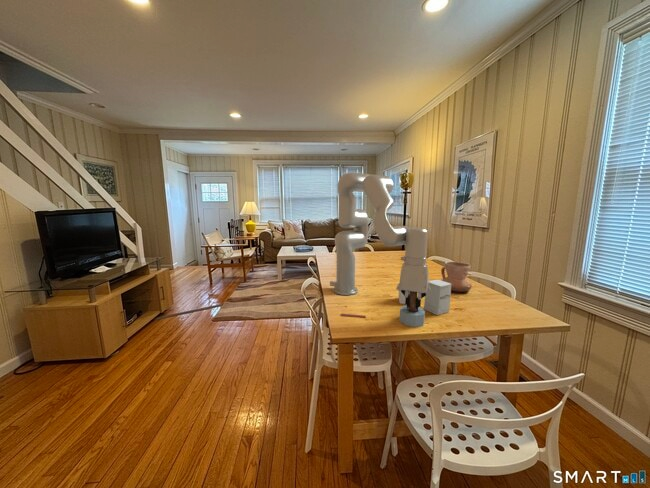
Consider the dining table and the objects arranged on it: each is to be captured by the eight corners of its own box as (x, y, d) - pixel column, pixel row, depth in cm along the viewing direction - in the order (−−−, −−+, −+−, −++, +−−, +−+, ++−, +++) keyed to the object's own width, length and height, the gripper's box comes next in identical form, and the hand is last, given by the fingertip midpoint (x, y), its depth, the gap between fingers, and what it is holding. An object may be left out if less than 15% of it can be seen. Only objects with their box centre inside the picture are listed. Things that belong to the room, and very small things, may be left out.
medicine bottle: (416, 305, 115) (417, 279, 113) (399, 303, 116) (400, 278, 114) (413, 299, 121) (415, 275, 120) (398, 298, 123) (399, 274, 121)
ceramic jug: (480, 293, 129) (482, 265, 127) (458, 296, 124) (460, 268, 122) (451, 283, 146) (453, 259, 144) (431, 286, 141) (433, 261, 139)
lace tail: (341, 315, 104) (341, 314, 104) (341, 314, 105) (341, 313, 105) (365, 317, 102) (365, 316, 102) (365, 316, 103) (365, 315, 103)
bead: (398, 323, 97) (398, 312, 96) (402, 314, 105) (402, 304, 104) (422, 328, 93) (423, 316, 92) (424, 318, 101) (425, 308, 100)
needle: (407, 318, 98) (409, 285, 96) (408, 315, 100) (410, 283, 98) (415, 319, 97) (417, 286, 94) (416, 316, 99) (418, 284, 97)
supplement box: (437, 315, 104) (440, 286, 102) (423, 309, 110) (425, 281, 108) (449, 312, 107) (452, 283, 105) (435, 306, 113) (437, 278, 111)
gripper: (391, 260, 95) (389, 307, 98) (438, 265, 88) (434, 315, 91) (395, 257, 102) (393, 300, 105) (439, 261, 95) (436, 307, 98)
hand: (412, 307), depth 98 cm, fingers closed on needle, 2 cm apart
